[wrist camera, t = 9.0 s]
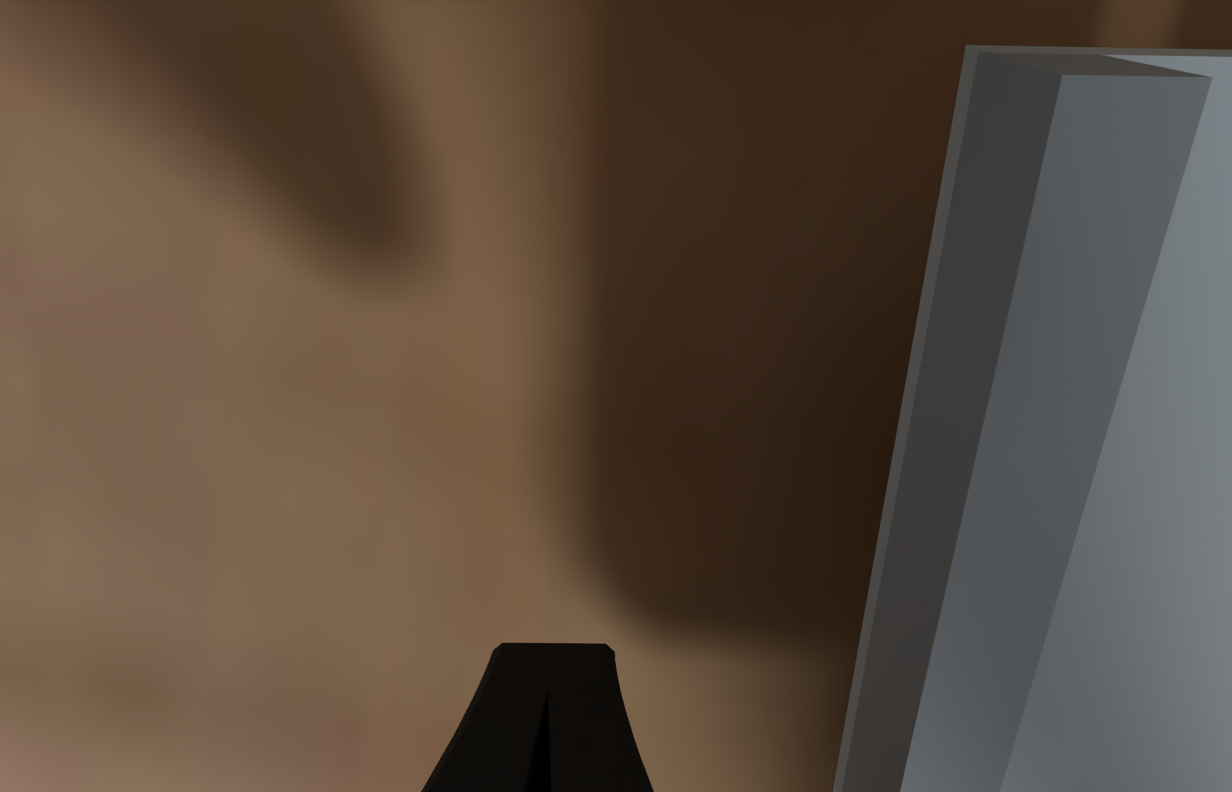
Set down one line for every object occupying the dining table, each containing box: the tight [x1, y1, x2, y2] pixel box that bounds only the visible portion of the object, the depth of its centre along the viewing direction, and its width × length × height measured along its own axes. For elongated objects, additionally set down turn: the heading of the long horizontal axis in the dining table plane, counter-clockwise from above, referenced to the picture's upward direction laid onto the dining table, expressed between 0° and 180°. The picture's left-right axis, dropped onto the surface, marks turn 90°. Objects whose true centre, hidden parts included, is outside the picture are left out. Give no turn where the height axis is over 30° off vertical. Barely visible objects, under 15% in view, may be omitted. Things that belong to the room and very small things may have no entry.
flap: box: [833, 45, 1232, 792], centre depth 10 cm, size 15×6×2 cm, turn 179°
